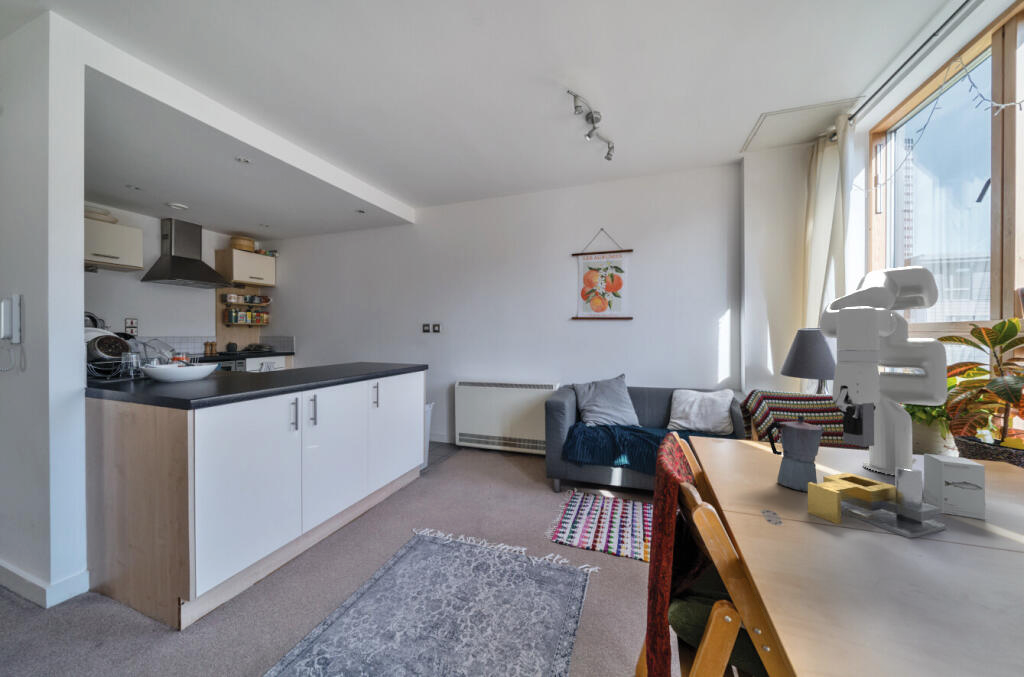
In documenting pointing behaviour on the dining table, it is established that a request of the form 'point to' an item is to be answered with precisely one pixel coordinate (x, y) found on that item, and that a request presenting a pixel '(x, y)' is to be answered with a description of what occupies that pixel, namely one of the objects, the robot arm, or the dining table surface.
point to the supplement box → (955, 485)
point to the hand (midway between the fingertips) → (858, 432)
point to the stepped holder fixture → (876, 502)
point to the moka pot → (797, 452)
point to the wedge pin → (863, 427)
